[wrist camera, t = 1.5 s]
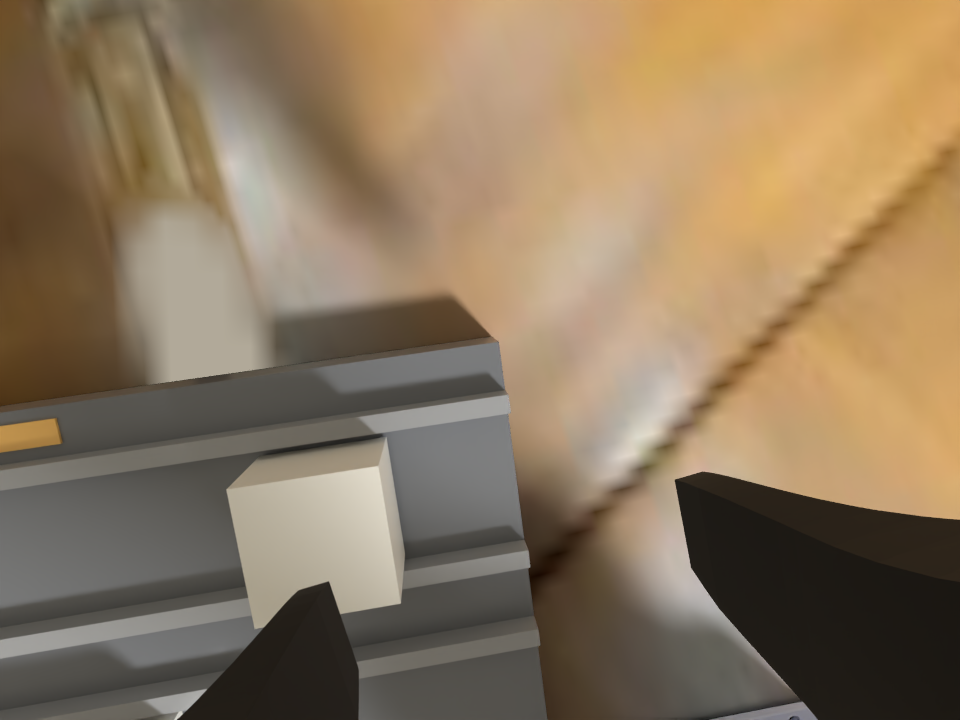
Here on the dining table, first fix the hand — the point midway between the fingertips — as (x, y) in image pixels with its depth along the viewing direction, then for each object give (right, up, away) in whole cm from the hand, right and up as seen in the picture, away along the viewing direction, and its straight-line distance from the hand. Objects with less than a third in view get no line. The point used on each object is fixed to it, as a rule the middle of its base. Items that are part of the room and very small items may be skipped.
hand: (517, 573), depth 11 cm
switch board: (-9, -5, +10) cm, 14 cm away
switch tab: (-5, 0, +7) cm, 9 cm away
